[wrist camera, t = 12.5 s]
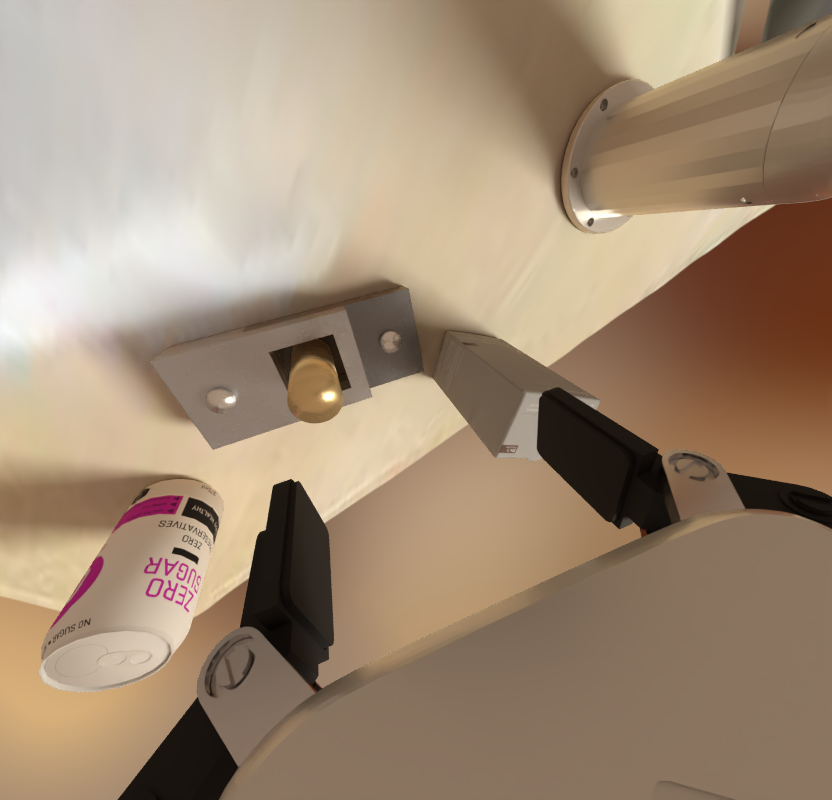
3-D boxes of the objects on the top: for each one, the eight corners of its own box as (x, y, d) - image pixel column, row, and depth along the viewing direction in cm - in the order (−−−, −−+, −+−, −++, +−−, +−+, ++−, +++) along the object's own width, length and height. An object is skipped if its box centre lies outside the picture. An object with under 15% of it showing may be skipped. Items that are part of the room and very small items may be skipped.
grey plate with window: (402, 286, 30) (417, 292, 26) (417, 364, 35) (432, 379, 31) (169, 346, 26) (146, 365, 22) (222, 427, 31) (211, 453, 27)
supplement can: (124, 523, 32) (12, 705, 19) (149, 466, 30) (42, 626, 18) (209, 534, 36) (161, 689, 24) (236, 483, 34) (199, 624, 22)
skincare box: (500, 337, 37) (611, 391, 24) (483, 389, 40) (573, 462, 27) (441, 327, 34) (532, 383, 21) (426, 384, 37) (497, 465, 23)
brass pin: (324, 333, 30) (333, 368, 21) (337, 368, 32) (349, 413, 23) (284, 344, 29) (277, 385, 21) (300, 379, 31) (299, 430, 23)
